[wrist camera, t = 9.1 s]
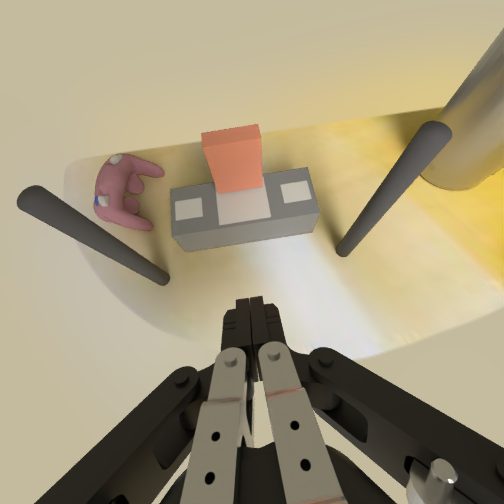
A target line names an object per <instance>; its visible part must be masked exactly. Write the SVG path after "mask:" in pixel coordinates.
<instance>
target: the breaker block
mask: <svg viewBox="0 0 504 504" xmlns="http://www.w3.org/2000/svg"><path fill="white" fill-rule="evenodd" d="M262 177H263V187H259V188H253V189H247V190H241V191H234V192H228V193H222V194H218V192H217V189H216V186H215V183H214V182H213V183H206V184H200V185H194V186H188V187H182V188H175V189H170V193H171V223H172V237H173V238H174V239H175V240H176V241H177V242H178V244H179V245H180V246H181V247H182V248H183V249H184V250H185V251H186V252H192V251H198V250H205V249H211V248H217V247H224V246H230V245H236V244H242V243H249V242H255V241H261V240H268V239H274V238H280V237H287V236H293V235H299V234H305V233H312V232H313V230H314V227H315V225H316V222H317V219H318V217H319V214H320V210H319V207H318V203H317V199H316V196H315V192H314V189H313V185H312V181H311V178H310V174H309V170H308V167H306V168H299V169H293V170H287V171H281V172H275V173H268V174H262Z"/></svg>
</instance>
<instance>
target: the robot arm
mask: <svg viewBox="0 0 504 504" xmlns="http://www.w3.org/2000/svg"><path fill="white" fill-rule="evenodd" d="M435 121H439V122H442V123H444V124H446V125H447V126H448V127H449V128H450V129H451V131H452V138H451V140H450V141H449V142H448V143H447V144H446V145H445V147H444V148H443V149H442V150H441V151H440V152H439V153H438V154H437V156H436V157H435V158H434V159H433V160H432V161H431V162H430V163H429V165H428V166H427V167H426V168H425V169H424V170H423V171H422V172H421V174H420V175H421V176H422V177H423V178H424V179H426V180H427V181H428V182H430V183H432V184H434V185H436V186H438V187H441V188H444V189H448V190H466V189H470V188H473V187H475V186H477V185H478V184H480V183H481V182H482V181H484V180H485V179H486V178H488V177H489V176H490V175H494V174H495V173H496V172H498V171H499V170H500V169H502V168H503V167H504V28H503V30H502V31H501V32H500V34H499V35H498V36H497V38H496V39H495V40H494V42H493V43H492V44H491V46H490V47H489V48H488V50H487V51H486V53H485V54H484V55H483V56H482V58H481V59H480V60H479V62H478V63H477V65H476V66H475V67H474V69H473V70H472V71H471V73H470V74H469V75H468V77H467V78H466V79H465V81H464V82H463V83H462V85H461V86H460V87H459V89H458V90H457V91H456V93H455V94H454V95H453V97H452V98H451V99H450V101H449V102H448V103H447V105H446V106H445V108H444V109H443V110H442V112H441V113H440V114H439V116H438V117H437V118H436V120H435ZM257 368H258V370H257ZM258 373H259V379H260V381H263V384H264V390H265V396H266V401H267V407H268V412H269V417H270V423H271V428H272V433H273V438H274V442H272V443H270V444H268V445H266V446H264V447H261V448H254V382H258ZM312 408H313V409H312ZM313 410H314V411H315V413H317V414H318V415H319V416H320V417H321V418H322V419H323V420H325V421H326V422H327V423H328V424H330V425H331V426H332V427H333V428H334V429H335V430H337V431H338V432H339V433H340V434H341V435H343V436H344V437H345V438H346V439H348V440H349V441H350V442H351V443H352V444H353V445H355V446H356V447H357V448H358V449H359V450H361V451H362V452H363V453H364V454H365V455H367V456H368V457H369V458H370V459H371V460H373V461H374V462H375V463H376V464H377V465H378V466H380V467H381V468H382V469H383V470H384V471H386V472H387V473H388V474H389V475H390V476H392V477H393V478H394V479H395V480H396V481H398V482H399V483H400V484H401V485H402V486H404V487H405V488H406V495H407V500H408V502H409V504H504V448H503V447H501V446H499V445H497V444H496V443H494V442H492V441H490V440H489V439H487V438H485V437H483V436H482V435H480V434H478V433H477V432H475V431H473V430H471V429H470V428H468V427H466V426H465V425H463V424H461V423H459V422H457V421H456V420H454V419H452V418H451V417H449V416H447V415H445V414H444V413H442V412H440V411H439V410H437V409H435V408H433V407H432V406H430V405H428V404H427V403H425V402H423V401H421V400H420V399H418V398H416V397H415V396H413V395H411V394H409V393H408V392H406V391H404V390H402V389H401V388H399V387H397V386H396V385H394V384H392V383H390V382H389V381H387V380H385V379H383V378H382V377H380V376H378V375H377V374H375V373H373V372H371V371H370V370H368V369H366V368H365V367H363V366H361V365H359V364H357V363H356V362H354V361H352V360H351V359H349V358H347V357H346V356H344V355H342V354H340V353H339V352H337V351H335V350H333V349H331V348H327V347H320V348H317V349H314V350H313V351H312V352H311V353H310V354H309V355H307V354H300V353H297V352H295V351H293V350H291V349H290V348H289V347H288V345H287V344H286V340H285V336H284V332H283V327H282V323H281V319H280V315H279V311H278V308H277V307H276V306H275V305H274V304H273V303H272V304H265V305H264V304H263V297H262V296H258V297H251V298H250V301H249V298H244V299H238V300H236V309H232V310H228V311H227V312H226V314H225V315H224V319H223V331H222V343H221V352H220V353H219V355H218V356H217V358H216V360H215V363H214V364H212V365H211V366H209V367H207V368H205V369H203V370H201V371H198V372H197V370H196V369H195V368H193V367H190V366H186V367H181V368H179V369H177V370H175V371H174V372H173V373H171V374H170V375H169V376H168V377H167V378H166V379H165V380H164V381H163V382H162V383H161V384H160V385H159V386H158V387H157V388H156V389H155V390H153V391H152V392H151V394H149V395H148V396H147V397H146V398H145V399H144V400H143V401H142V402H141V403H140V404H139V405H138V406H137V407H136V408H134V409H133V410H132V411H131V412H130V413H129V414H128V415H127V416H126V417H125V418H124V419H123V420H122V421H121V422H120V423H119V424H118V425H117V426H116V427H114V428H113V429H112V430H111V431H110V432H109V433H108V434H107V435H106V436H105V437H104V438H103V439H102V440H101V441H100V442H99V443H98V444H97V445H96V446H95V447H93V448H92V449H91V450H90V451H89V452H88V453H87V454H86V455H85V456H84V457H83V458H82V459H81V460H80V461H79V462H78V463H76V465H74V466H73V467H72V468H71V469H70V470H69V471H68V472H67V473H66V474H65V475H64V476H63V477H62V478H61V479H60V480H59V481H58V482H56V484H54V486H52V487H51V488H50V489H49V490H48V491H47V492H46V493H45V494H44V495H43V496H42V497H41V498H40V499H39V500H37V501H36V502H35V503H34V504H151V503H152V502H153V501H154V499H155V498H156V497H157V495H158V494H159V493H160V491H161V490H162V489H163V487H164V486H165V485H166V484H167V482H168V481H169V480H170V478H171V477H172V476H173V474H174V473H175V472H176V470H177V469H178V468H179V466H180V465H181V464H182V462H183V461H184V460H185V459H186V457H187V456H188V454H189V453H190V452H191V454H190V459H189V464H188V468H187V469H186V470H185V471H184V472H183V473H182V474H181V475H180V476H179V477H178V479H177V480H176V481H175V482H174V484H173V485H172V486H171V488H170V489H169V491H168V492H167V494H166V495H165V496H164V498H163V499H162V501H161V502H160V503H159V504H397V503H395V501H393V500H392V499H391V498H390V497H389V496H388V495H387V494H386V493H385V492H384V491H383V490H382V489H381V488H380V487H379V486H378V485H377V484H375V483H374V482H373V481H372V480H371V479H370V478H369V477H368V476H367V475H366V474H365V473H364V472H363V471H362V470H361V469H359V468H358V467H357V466H356V465H355V464H354V463H353V462H352V461H351V460H350V459H349V458H348V457H347V456H345V455H344V454H342V453H341V452H340V451H338V450H336V449H334V448H332V447H330V446H328V445H325V443H324V440H323V437H322V434H321V432H320V429H319V426H318V423H317V420H316V418H315V415H314V412H313Z"/></svg>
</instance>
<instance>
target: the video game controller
mask: <svg viewBox="0 0 504 504" xmlns="http://www.w3.org/2000/svg"><path fill="white" fill-rule="evenodd" d="M137 175H146V176H151V177H162V176H164V171H163V169H162V168H161V167H159V166H158V165H156V164H154V163H151V162H149V161H146V160H143V159H141V158H138V157H135V156H133V155H130V154H116V155H114V156H112V157H111V158H109V159H108V161H106V162H105V164H104V165H103V166H102V168H101V170H100V171H99V174H98V176H97V180H96V185H95V201H94V211H95V213H96V214H97V216H98V217H99V218H100V219H102V220H104V221H106V222H113V223H115V224H118V225H121V226H124V227H127V228H131V229H135V230H143V231H148V230H151V229H152V228H153V225H152V223H151V222H150V221H148V220H147V219H145V218H142V217H139V216H136V215H134V214H135V213H137V212H138V210H139V205H138V202H137V201H136V200H135V199H134V198H132V197H125V198H124V194H125V190H126V191H127V192H128V193H130V194H132V195H137V194H139V193H141V192H142V191H143V189H144V186H143V183H142V182H141V180H140V179H139V178H138V176H137Z"/></svg>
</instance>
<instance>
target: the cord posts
mask: <svg viewBox="0 0 504 504" xmlns="http://www.w3.org/2000/svg"><path fill="white" fill-rule="evenodd" d="M451 138H452V131H451V129H450V128H449V127H448V126H447V125H446V124H444V123H442V122H439V121H429V122H426V123H424V124H423V125H422V126H421V128H420V129H419V130H418V132H417V133H416V135H415V136H414V138H413V139H412V140H411V142H410V143H409V145H408V146H407V148H406V149H405V150H404V152H403V153H402V155H401V156H400V158H399V159H398V160H397V162H396V163H395V165H394V166H393V168H392V169H391V170H390V172H389V173H388V175H387V176H386V178H385V179H384V181H383V182H382V183H381V185H380V186H379V188H378V189H377V191H376V192H375V193H374V195H373V196H372V198H371V199H370V201H369V202H368V203H367V205H366V206H365V208H364V209H363V211H362V212H361V213H360V215H359V216H358V218H357V219H356V221H355V222H354V223H353V225H352V226H351V228H350V229H349V231H348V232H347V233H346V235H345V236H344V238H343V239H342V241H341V242H340V243H339V245H338V246H337V248H336V253H337V254H338V255H339V256H341V257H346V256H348V255H349V254H350V252H351V251H352V250H353V249H354V248H355V247H356V246H357V245H358V243H359V242H360V241H361V240H362V239H363V238H364V237H365V236H366V234H367V233H368V232H369V231H370V230H371V229H372V228H373V227H374V225H375V224H376V223H377V222H378V221H379V220H380V219H381V218H382V216H383V215H384V214H385V213H386V212H387V211H388V210H389V209H390V207H391V206H392V205H393V204H394V203H395V202H396V201H397V200H398V198H399V197H400V196H401V195H402V194H403V193H404V192H405V190H406V189H407V188H408V187H409V186H410V185H411V184H412V183H413V181H414V180H415V179H416V178H417V177H418V176H419V175H420V174H421V172H422V171H423V170H424V169H425V168H426V167H427V166H428V165H429V163H430V162H431V161H432V160H433V159H434V158H435V157H436V156H437V154H438V153H439V152H440V151H441V150H442V149H443V148H444V147H445V145H446V144H447V143H448V142H449V141H450V140H451ZM17 206H18V208H19V209H21V210H22V211H24V212H26V213H28V214H30V215H32V216H34V217H35V218H37V219H39V220H41V221H43V222H45V223H47V224H48V225H50V226H52V227H54V228H56V229H58V230H60V231H61V232H63V233H65V234H67V235H69V236H70V237H72V238H74V239H76V240H78V241H80V242H82V243H83V244H85V245H87V246H89V247H91V248H93V249H94V250H96V251H98V252H100V253H102V254H104V255H105V256H107V257H109V258H111V259H113V260H115V261H117V262H118V263H120V264H122V265H124V266H126V267H128V268H129V269H131V270H133V271H135V272H137V273H139V274H141V275H142V276H144V277H146V278H148V279H150V280H152V281H153V282H155V283H157V284H159V285H162V286H163V285H166V284H167V283H168V282H169V280H170V276H169V275H168V274H167V273H166V272H164V271H163V270H161V269H160V268H159V267H157V266H156V265H154V264H153V263H151V262H150V261H149V260H147V259H146V258H144V257H143V256H141V255H140V254H138V253H137V252H136V251H134V250H133V249H131V248H130V247H128V246H127V245H125V244H124V243H123V242H121V241H120V240H118V239H117V238H115V237H114V236H112V235H111V234H110V233H108V232H107V231H105V230H104V229H102V228H101V227H100V226H98V225H97V224H95V223H94V222H92V221H91V220H89V219H88V218H87V217H85V216H84V215H82V214H81V213H79V212H78V211H76V210H75V209H74V208H72V207H71V206H69V205H68V204H66V203H65V202H64V201H62V200H61V199H59V198H58V197H56V196H55V195H53V194H52V193H51V192H49V191H48V190H46V189H45V188H43V187H42V186H37V185H34V186H31V187H28V188H27V189H25V190H23V191H22V192H21V194H20V195H19V196H18V199H17Z"/></svg>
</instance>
